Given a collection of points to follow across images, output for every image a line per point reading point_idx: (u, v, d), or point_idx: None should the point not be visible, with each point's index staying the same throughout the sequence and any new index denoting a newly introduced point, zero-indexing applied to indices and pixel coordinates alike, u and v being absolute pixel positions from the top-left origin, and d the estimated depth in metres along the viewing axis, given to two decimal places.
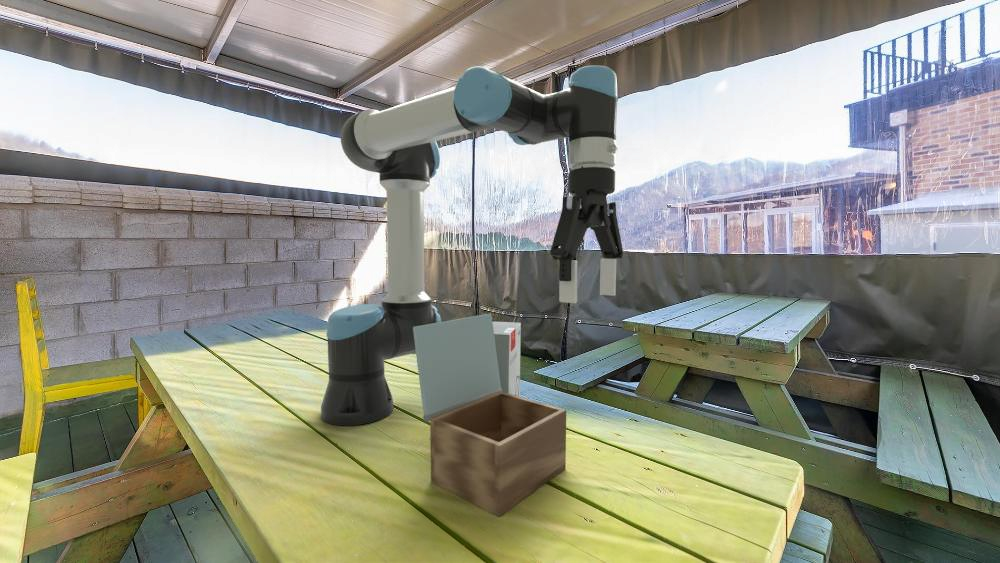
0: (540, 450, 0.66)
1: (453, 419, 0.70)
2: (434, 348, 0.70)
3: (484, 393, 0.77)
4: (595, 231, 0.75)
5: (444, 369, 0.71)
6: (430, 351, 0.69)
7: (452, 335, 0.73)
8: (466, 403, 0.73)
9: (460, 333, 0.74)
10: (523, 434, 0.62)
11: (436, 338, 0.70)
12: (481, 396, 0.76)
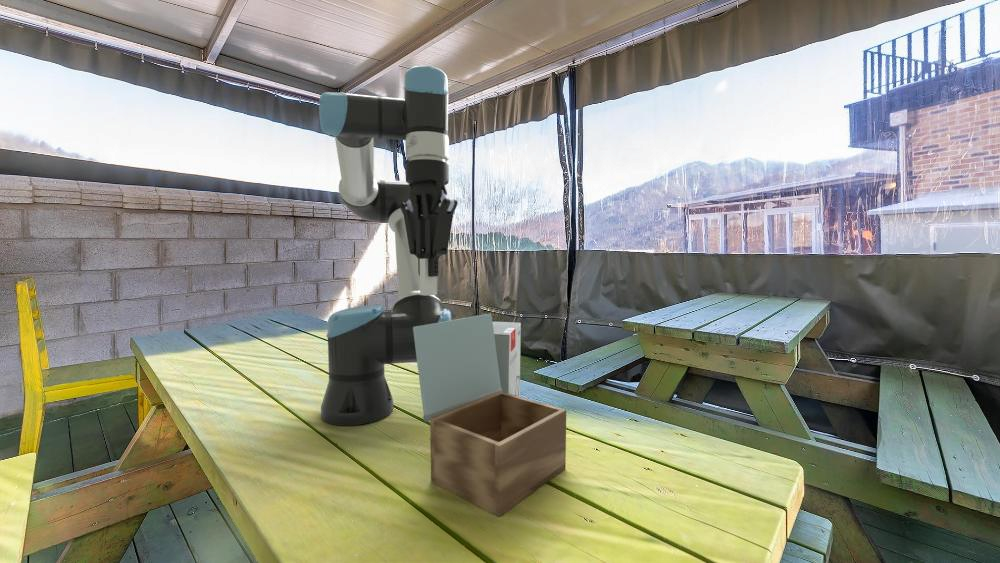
0: (540, 450, 0.66)
1: (453, 419, 0.70)
2: (434, 348, 0.70)
3: (484, 393, 0.77)
4: None
5: (444, 369, 0.71)
6: (430, 351, 0.69)
7: (452, 335, 0.73)
8: (466, 403, 0.73)
9: (460, 333, 0.74)
10: (523, 434, 0.62)
11: (436, 338, 0.70)
12: (481, 396, 0.76)
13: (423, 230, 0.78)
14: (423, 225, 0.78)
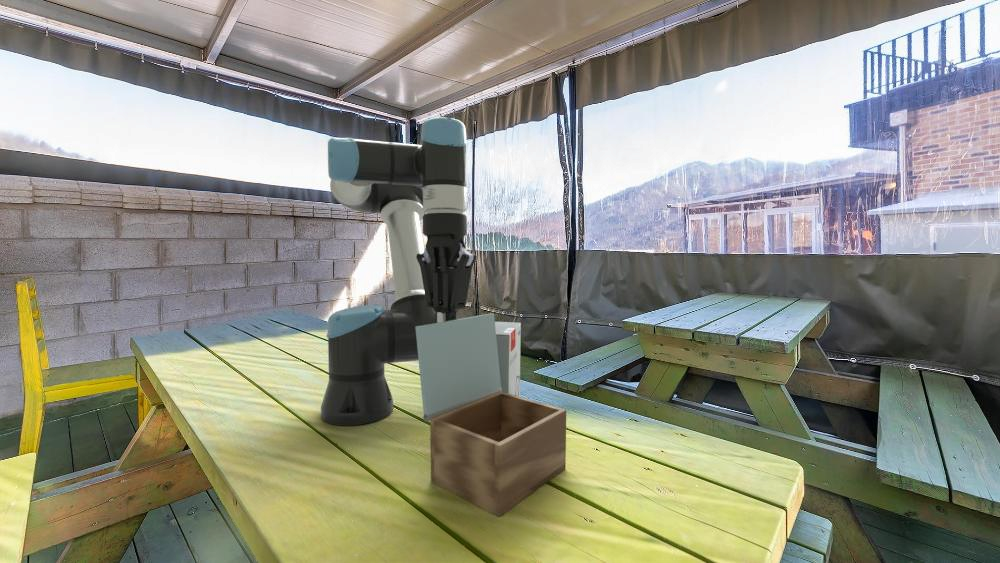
0: (540, 450, 0.66)
1: (453, 419, 0.70)
2: (436, 348, 0.69)
3: (484, 393, 0.77)
4: None
5: (445, 369, 0.71)
6: (432, 351, 0.69)
7: (454, 335, 0.73)
8: (466, 403, 0.73)
9: (462, 333, 0.74)
10: (523, 434, 0.62)
11: (439, 338, 0.70)
12: (481, 396, 0.76)
13: (440, 283, 0.76)
14: (440, 278, 0.75)
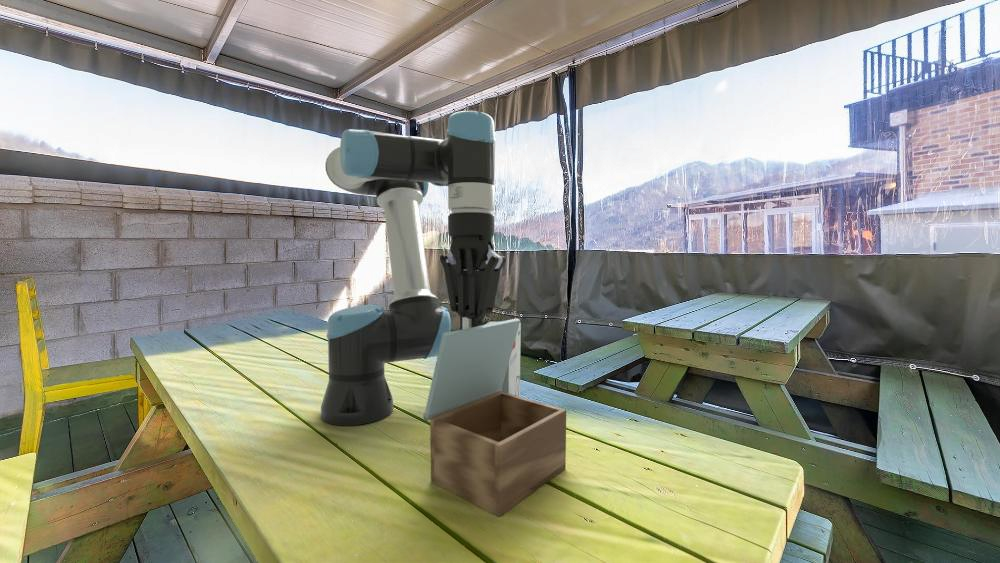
0: (540, 450, 0.66)
1: (453, 419, 0.70)
2: (456, 355, 0.67)
3: (485, 394, 0.77)
4: None
5: (458, 374, 0.69)
6: (451, 358, 0.66)
7: (477, 342, 0.69)
8: (466, 403, 0.73)
9: (485, 340, 0.71)
10: (523, 434, 0.62)
11: (461, 345, 0.67)
12: (481, 397, 0.76)
13: (466, 286, 0.72)
14: (466, 281, 0.72)
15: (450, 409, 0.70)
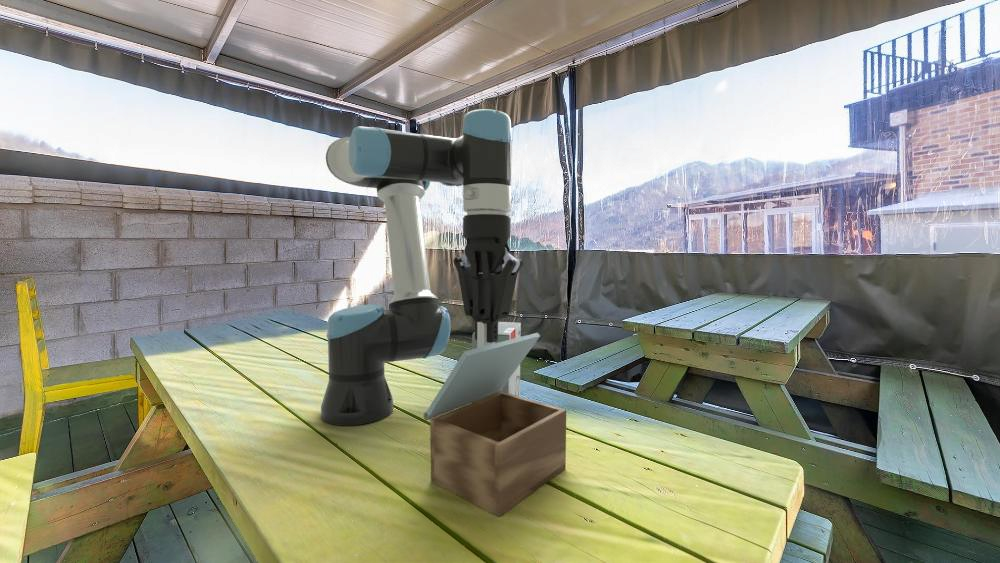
0: (540, 450, 0.66)
1: (453, 419, 0.70)
2: (471, 369, 0.65)
3: (486, 394, 0.77)
4: None
5: (467, 383, 0.68)
6: (465, 372, 0.64)
7: (493, 357, 0.67)
8: (466, 404, 0.73)
9: (501, 355, 0.69)
10: (523, 434, 0.62)
11: (478, 361, 0.65)
12: (482, 397, 0.76)
13: (481, 290, 0.70)
14: (481, 284, 0.70)
15: (450, 409, 0.70)
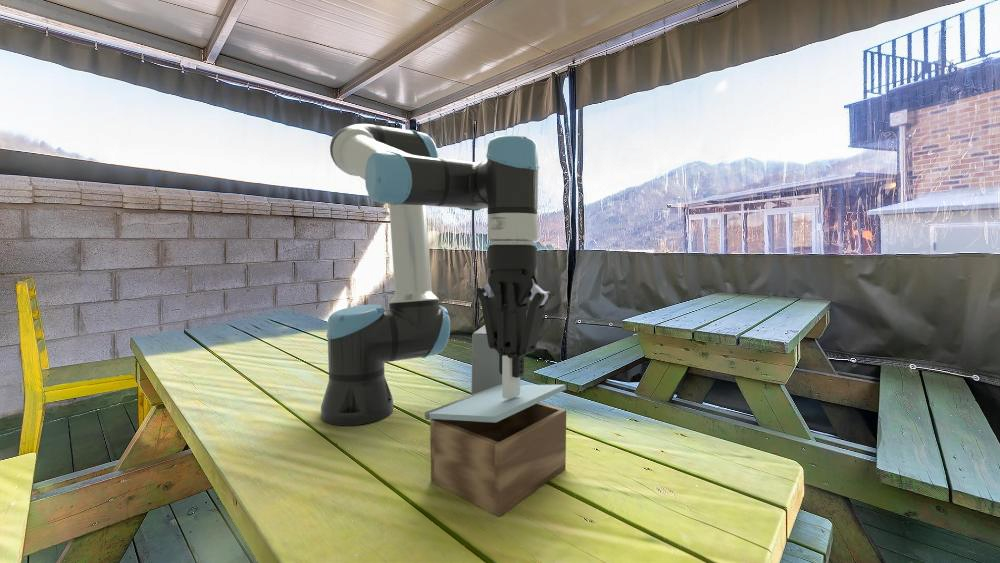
0: (540, 450, 0.66)
1: None
2: None
3: None
4: None
5: None
6: None
7: None
8: None
9: None
10: (523, 434, 0.62)
11: None
12: None
13: (506, 322, 0.67)
14: (506, 316, 0.67)
15: None
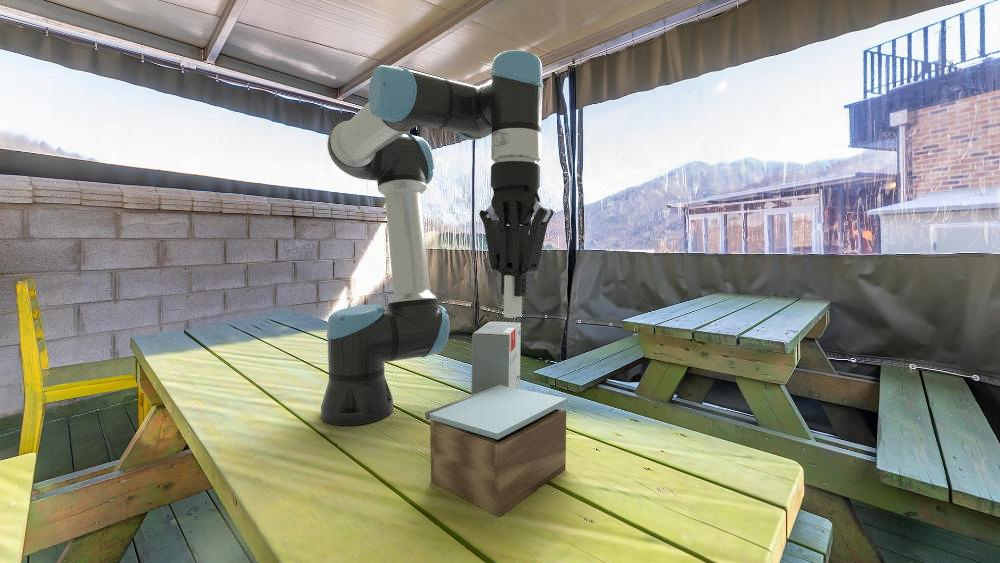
0: (540, 450, 0.66)
1: None
2: None
3: None
4: None
5: None
6: None
7: None
8: None
9: None
10: (523, 434, 0.62)
11: None
12: None
13: (508, 242, 0.67)
14: (509, 237, 0.67)
15: None
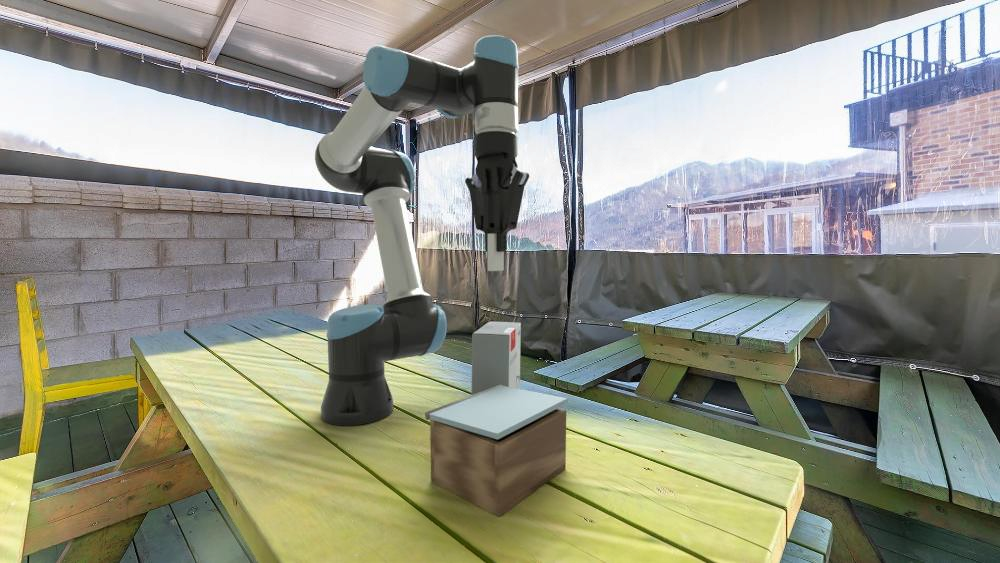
0: (540, 450, 0.66)
1: None
2: None
3: None
4: None
5: None
6: None
7: None
8: None
9: None
10: (523, 434, 0.62)
11: None
12: None
13: (491, 205, 0.76)
14: (491, 200, 0.76)
15: None
